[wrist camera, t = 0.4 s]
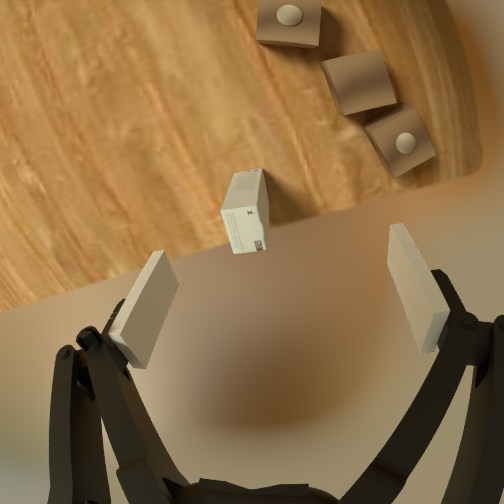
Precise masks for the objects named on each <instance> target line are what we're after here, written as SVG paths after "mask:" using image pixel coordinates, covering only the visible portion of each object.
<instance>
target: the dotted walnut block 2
mask: <svg viewBox="0 0 504 504" xmlns="http://www.w3.org/2000/svg"><path fill="white" fill-rule="evenodd" d="M361 126H362V128H363V129H364V131H365V133H366V134H367V136H368V138H369V140H370V141H371V143H372V145H373V147H374V149H375V150H376V152H377V154H378V156H379V158H380V160H381V162H382V164H383V165H384V167H385V168H386V169H387V170H388V171H389V172H390V173H391V175H392V176H393V177H394V178H396V177H398V176H400V175H402V174H403V173H405V172H407V171H409V170H410V169H412V168H414V167H416V166H417V165H419V164H421V163H423V162H424V161H426V160H428V159H430V158H431V157H433V156H435V155H436V152H435V150H434V148H433V145H432V143H431V140H430V138H429V136H428V134H427V131H426V129H425V127H424V125H423V123H422V121H421V118H420V116H419V114H418V112H417V110H416V108H415V107H412V106H409V105H406V104H403V103H401V104H399V105H397V106H395V107H393V108H391V109H390V110H388V111H386V112H384V113H382V114H380V115H379V116H377V117H375V118H373V119H372V120H370V121H368V122H366V123H365V124H363V125H361Z"/></svg>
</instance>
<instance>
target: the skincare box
mask: <svg viewBox="0 0 504 504" xmlns="http://www.w3.org/2000/svg"><path fill="white" fill-rule="evenodd" d="M269 206H270V203H269V199H268V193H267V188H266V183H265V179H264V174H263V169H262V168H259V169H253V170H247V171H241V172H236V173H235V174H234V176H233V179H232V181H231V184H230V187H229V189H228V192H227V195H226V197H225V200H224V203H223V205H222V208H221V210H220V211H221V214H222V217H223V221H224V224H225V227H226V230H227V234H228V237H229V240H230V243H231V246H232V250H233V253H234V254H238V253H246V252H253V251H261V250H267V246H268V229H269Z"/></svg>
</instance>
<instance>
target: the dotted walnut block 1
mask: <svg viewBox="0 0 504 504" xmlns="http://www.w3.org/2000/svg"><path fill="white" fill-rule="evenodd" d="M321 4H322V0H259V6H258V20H257V34H256V40H257V41H258V43H259V44H268V45H281V46H291V47H300V48H308V49H315V48H316V47H318V46H319V33H320V19H321Z"/></svg>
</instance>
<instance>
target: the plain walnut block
mask: <svg viewBox="0 0 504 504" xmlns="http://www.w3.org/2000/svg"><path fill="white" fill-rule="evenodd" d="M320 65H321V67H322V70H323V72H324V75H325V77H326V80H327V83H328V85H329V88H330V91H331V94H332V97H333V99H334V102H335V105H336V108H337V111H338V112H340V113H341V114H343V115H348V114H352V113H356V112H360V111H364V110H368V109H372V108H376V107H381V106H385V105H390V104H395V103H397V102H396V98H395V95H394V91H393V88H392V84H391V81H390V78H389V75H388V72H387V69H386V66H385V63H384V60H383V57H382V54H381V51H380V49H377V50H371V51H366V52H361V53H356V54H351V55H347V56H342V57H338V58H334V59H330V60H326V61H323V62H321V63H320Z"/></svg>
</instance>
